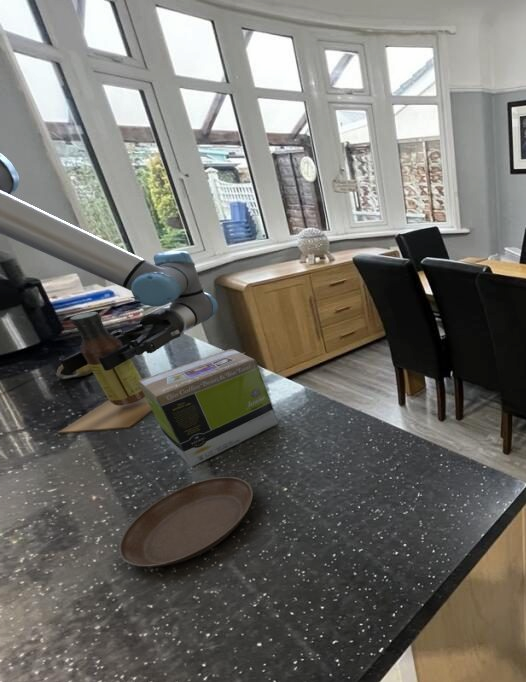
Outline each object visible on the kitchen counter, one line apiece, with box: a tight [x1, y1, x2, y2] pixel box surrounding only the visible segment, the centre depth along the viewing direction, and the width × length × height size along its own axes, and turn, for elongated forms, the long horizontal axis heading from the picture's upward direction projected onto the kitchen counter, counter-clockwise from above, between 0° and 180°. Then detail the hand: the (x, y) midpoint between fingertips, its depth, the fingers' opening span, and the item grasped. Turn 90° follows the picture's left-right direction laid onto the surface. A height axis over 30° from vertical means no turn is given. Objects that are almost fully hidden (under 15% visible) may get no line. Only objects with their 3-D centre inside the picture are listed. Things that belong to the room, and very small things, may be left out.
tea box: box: [138, 348, 279, 468], centre depth 72 cm, size 15×10×15 cm, turn 145°
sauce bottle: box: [69, 311, 145, 406], centre depth 82 cm, size 6×6×20 cm
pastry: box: [55, 364, 93, 380], centre depth 102 cm, size 9×7×4 cm
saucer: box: [118, 476, 254, 568], centre depth 55 cm, size 15×15×3 cm
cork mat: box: [58, 397, 153, 434], centre depth 84 cm, size 13×13×1 cm
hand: (85, 365), depth 77 cm, fingers closed on sauce bottle, 6 cm apart
